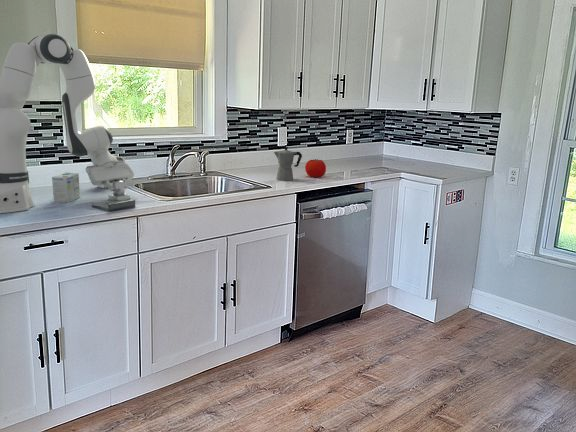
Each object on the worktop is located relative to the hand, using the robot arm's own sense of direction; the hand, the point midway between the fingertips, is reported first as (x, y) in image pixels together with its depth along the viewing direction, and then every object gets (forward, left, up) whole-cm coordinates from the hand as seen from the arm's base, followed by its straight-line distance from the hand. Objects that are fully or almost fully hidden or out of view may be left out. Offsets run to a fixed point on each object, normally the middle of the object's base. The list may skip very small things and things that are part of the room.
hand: (119, 189), depth 230 cm
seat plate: (-10, -9, -4) cm, 14 cm away
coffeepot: (+93, -21, -5) cm, 96 cm away
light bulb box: (-16, +15, -5) cm, 22 cm away
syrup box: (+11, +26, -5) cm, 28 cm away
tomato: (+112, -27, -5) cm, 115 cm away
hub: (0, +1, -4) cm, 4 cm away
